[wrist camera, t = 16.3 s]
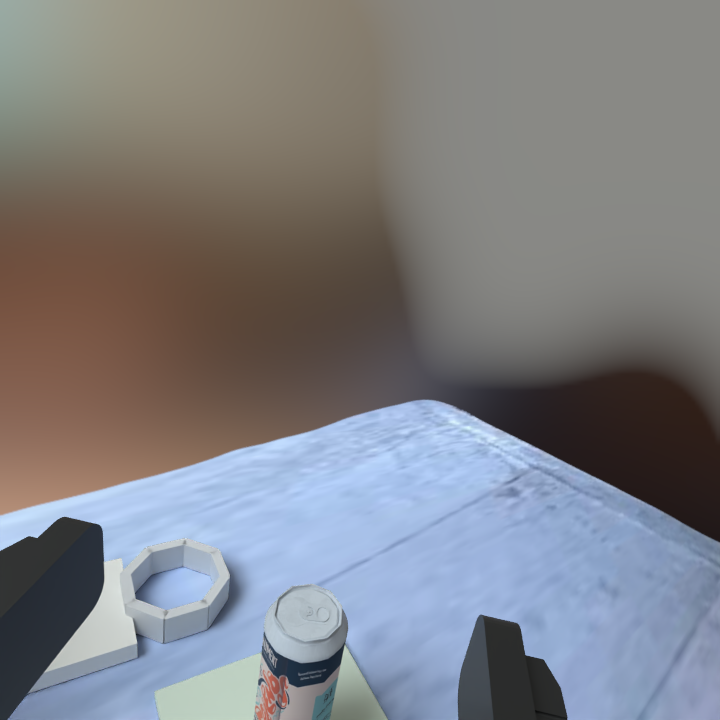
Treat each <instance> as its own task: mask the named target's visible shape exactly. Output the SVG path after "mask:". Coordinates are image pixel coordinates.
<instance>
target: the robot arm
mask: <svg viewBox="0 0 720 720" xmlns="http://www.w3.org/2000/svg"><path fill="white" fill-rule="evenodd" d="M103 586H104V553H103V531H102V528H101V526H100V525H98V524H94V523H90V522H85V521H81V520H77V519H72V518H68V517H62V518H60V519H58V520H57V521H55V522H54V523H53V524H52V525H51V526H50V527H49V528H48V529H47V530H46V531H44V532H43V533H42V534H41V535H40V536H39V537H38V538H34V537H30V536H28V537H26V538H24V539H23V540H21V541H19V542H17V543H15V544H13V545H11V546H9V547H7V548H5V549H3V550H1V551H0V720H7V719H8V718H9V717H10V715H11V714H12V713H13V711H14V710H15V709H16V708H17V706H18V705H19V704H20V702H21V701H22V700H23V699H24V697H25V696H26V695H27V694H28V692H29V691H30V690H31V688H32V687H33V686H34V685H35V683H36V682H37V681H38V680H39V678H40V677H41V676H42V674H43V673H44V672H45V671H46V669H47V668H48V667H49V665H50V664H51V663H52V662H53V660H54V659H55V658H56V657H57V655H58V654H59V653H60V651H61V650H62V649H63V648H64V646H65V645H66V644H67V642H68V641H69V640H70V639H71V637H72V636H73V635H74V634H75V632H76V631H77V630H78V628H79V627H80V626H81V625H82V623H83V622H84V621H85V620H86V618H87V617H88V616H89V614H90V613H91V612H92V610H93V609H94V607H95V606H96V604H97V602H98V600H99V598H100V595H101V593H102V590H103ZM458 720H567V713H566V709H565V705H564V700H563V696H562V692H561V688H560V686H559V684H558V683H557V681H556V679H555V678H554V676H553V674H552V673H551V671H550V669H549V668H548V666H547V664H546V663H545V661H544V660H543V659H539V658H534V657H530V656H526V655H525V651H524V645H523V640H522V634H521V629H520V626H519V625H518V624H517V623H514V622H510V621H505V620H501V619H497V618H493V617H488V616H484V615H479V617H478V619H477V621H476V624H475V627H474V630H473V634H472V637H471V640H470V643H469V646H468V649H467V652H466V656H465V659H464V662H463V665H462V669H461V673H460V680H459V688H458Z"/></svg>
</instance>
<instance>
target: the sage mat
mask: <svg viewBox="0 0 720 720" xmlns="http://www.w3.org/2000/svg"><path fill="white" fill-rule="evenodd" d="M261 654H262V652H261V653H258V654H255V655H253V656H250V657H247V658H244V659H242V660H239V661H236V662H233V663H231V664H228V665H225V666H222V667H220V668H217V669H214V670H212V671H209V672H206V673H203V674H201V675H198V676H195V677H192V678H190V679H187V680H184V681H181V682H179V683H176V684H173V685H170V686H168V687H165V688H162V689H159V690H157V691H155V702H156V707H157V712H158V717H159V720H254V713H255V704H256V696H257V687H258V679H259V671H260V662H261ZM330 720H388V719H387V717H386V715H385V714H384V712H383V710H382V708H381V707H380V705H379V703H378V701H377V700H376V698H375V696H374V694H373V693H372V691H371V689H370V687H369V686H368V684H367V682H366V680H365V679H364V677H363V675H362V673H361V672H360V670H359V668H358V666H357V664H356V663H355V661H354V659H353V657H352V656H351V654H350V652H349V650H348V649H347V647H346V645H345V646H344V651H343V656H342V661H341V666H340V671H339V676H338V681H337V686H336V691H335V696H334V701H333V706H332V711H331V716H330Z"/></svg>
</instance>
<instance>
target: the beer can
mask: <svg viewBox="0 0 720 720" xmlns="http://www.w3.org/2000/svg"><path fill="white" fill-rule="evenodd" d="M347 632H348V622H347V618H346V615H345V613H344V611H343V609H342V605H341V604H340V603H339V601H338V600H337V599H336V597H335V596H334V595H333V593H332V592H331V591H329V590H326V589H324V588H321V587H319V586H316V585H314V584H307V585H298V586H292V587H290V588H289V589H288V590H287V591H285V592H284V593H283V594H282V595H280V596H279V597H278V598H277V600H276V601H275V602H274V603H273V604H272V605H271V606H270V608H269V609H268V611H267V614H266V617H265V622H264V637H263V646H262V654H261V662H260V671H259V679H258V687H257V696H256V704H255V713H254V720H330V716H331V711H332V706H333V701H334V696H335V691H336V686H337V681H338V676H339V671H340V666H341V661H342V656H343V651H344V646H345V641H346V638H347Z"/></svg>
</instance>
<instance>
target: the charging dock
mask: <svg viewBox="0 0 720 720" xmlns="http://www.w3.org/2000/svg"><path fill="white" fill-rule="evenodd" d="M179 567H186V568H189V569H192V570H195V571H198V572H200V573H203V574H206V575H209V576H210V577H211V580H212V583H213V586H212V587H211V589H210V590H209V591H208V593H207V594H206V596H205V597H204V598H203V600H200V601H197V602H193V603H190V604H187V605H183V606H180V607H176V608H173V609H170V610H164V609H162V608H159V607H156V606H153V605H151V604H148V603H145V602H143V601H140V600H137V599H136V597H135V592H136V591H137V590H138V589H139V588H140V587H141V586H142V585H143V584H144V582H145V581H146V580H147V579H148V578H149V577H150V576H151V575H152V574H156V573H160V572H164V571H168V570H171V569H175V568H179ZM229 582H230V574H229V572H228V569H227V567H226V564H225V562H224V560H223V557H222V555H221V552H220V550H218V549H217V548H214V547H211V546H208V545H205V544H202V543H199V542H196V541H193V540H190V539H187V538H186V539H185V538H183V539H179V540H174V541H170V542H166V543H161V544H157V545H153V546H148V547H147V548H145V549H144V550H143V551H142V552H141V553H140V554H139V555H138V556H137V557H136V558H135V559H134V560H133V561H132V562H131V563H130V564H129V565H128V566H127V567H126V568H125V569H124V570H123V564H122V559H121V558H120V559H115V560H111V561H107V562H104V586H103V590H102V593H101V595H100V598H99V600H98V602H97V604H96V606H95V607H94V609H93V610H92V612H91V613H90V614H89V616H88V617H87V618H86V620H85V621H84V622H83V623H82V625H81V626H80V627H79V628H78V630H77V631H76V632H75V634H74V635H73V636H72V637H71V639H70V640H69V641H68V642H67V644H66V645H65V646H64V648H63V649H62V650H61V651H60V653H59V654H58V655H57V657H56V658H55V659H54V660H53V662H52V663H51V664H50V665H49V667H48V668H47V669H46V671H45V672H44V673H43V674H42V676H41V677H40V678H39V680H38V681H37V682H36V683H35V685H34V686H33V687H32V688H31V690H30V691H29V692H28V694H29V693H32V692H35V691H38V690H41V689H44V688H47V687H50V686H53V685H56V684H59V683H62V682H65V681H68V680H71V679H74V678H77V677H81V676H84V675H87V674H90V673H93V672H96V671H99V670H102V669H105V668H108V667H111V666H114V665H117V664H120V663H123V662H126V661H129V660H132V659H135V658H137V639H136V634H139V635H142V636H144V637H147V638H149V639H152V640H155V641H157V642H160V643H162V644H163V643H168V642H171V641H174V640H177V639H181V638H184V637H187V636H190V635H193V634H196V633H199V632H202V631H205V630H207V629H209V627H210V626H211V624H212V623H213V621H214V620H215V618H216V617H217V615H218V614H219V612H220V611H221V609H222V608H223V606H224V605H225V603H226V602H227V600H228V595H229ZM135 633H136V634H135Z"/></svg>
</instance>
